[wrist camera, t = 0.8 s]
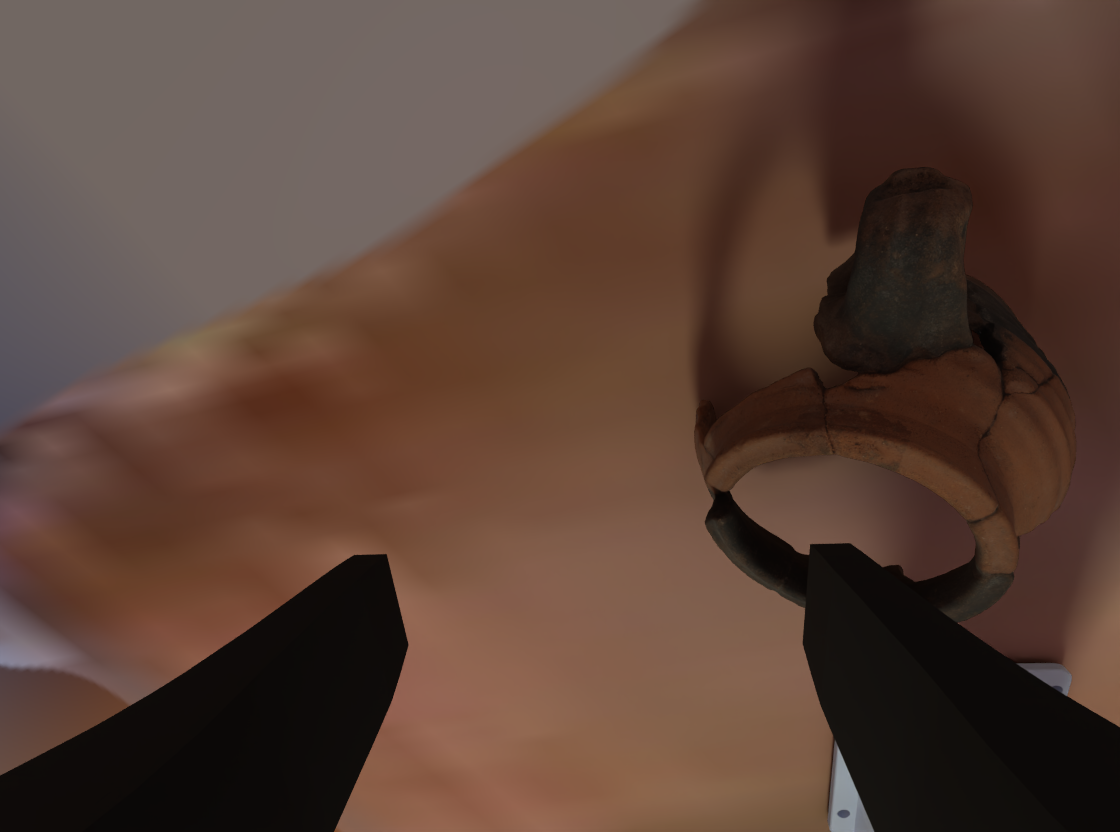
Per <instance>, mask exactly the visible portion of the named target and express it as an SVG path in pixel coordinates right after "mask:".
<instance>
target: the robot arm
mask: <svg viewBox="0 0 1120 832" xmlns="http://www.w3.org/2000/svg"><path fill="white" fill-rule="evenodd" d="M803 646H804V650H805V654H806V657H807V661H808V664H809V668H810V671H811V675H812V678H813V682H814V685H815V688H816V692H817V695H818V698H819V702H820V705H821V707H822V710H823V712H824V714H825V717H826V719H827V722H828V724H829V727H830V729H831V731H832V734H833V736H834V738H835V744H834V755H833V766H832V777H831V788H830V799H829V810H828V825H829V828H830V831H831V832H1120V727H1118V726H1117V725H1115V724H1113V723H1112V722H1110V721H1108V720H1106V719H1105V718H1103V717H1101V716H1100V715H1098V714H1096V713H1094V712H1093V711H1091V710H1089V709H1088V708H1086V707H1084V706H1082V705H1081V704H1079V703H1077V702H1076V701H1074V700H1072V699H1071V698H1069V697H1068V696H1067V694H1068V691H1069V687H1070V684H1071V680H1072V675H1071V674H1070V673H1069V671H1068V670H1067V669H1066V668H1065V667H1064V666H1063V665H1061V664H1057V663H1015V662H1013V661H1012V660H1010V659H1009V658H1007V657H1006V656H1004V655H1003V654H1001V653H1000V652H998V651H996V650H995V649H994V648H992V647H991V646H989V645H988V644H986V643H985V642H983V641H982V640H981V639H979V638H978V637H976V636H975V635H973V634H972V633H970V632H969V631H968V630H966V629H965V628H963V627H962V626H961V625H959V624H958V623H956V622H955V621H954V620H952V619H951V618H950V617H948V616H947V615H945V614H944V613H943V612H941V611H940V610H939V609H937V608H936V607H934V606H933V605H932V604H930V603H929V602H928V601H926V600H925V599H924V598H922V597H921V596H920V595H918V594H917V593H916V592H914V591H913V590H912V589H910V588H909V587H908V586H906V585H905V584H904V583H902V582H901V581H900V580H898V579H897V578H896V577H895V576H893V575H892V574H891V573H889V572H888V571H887V570H885V569H884V568H883V567H881V566H880V565H879V564H877V563H876V562H875V561H874V560H872V559H871V558H870V557H868V556H867V555H866V554H864V553H863V552H861V551H860V550H859V549H857V548H856V547H854V546H853V545H852V544H850V543H843V544H810V554H809V567H808V580H807V593H806V606H805V620H804V633H803ZM407 648H408V641H407V637H406V633H405V628H404V624H403V620H402V616H401V612H400V608H399V604H398V599H397V595H396V591H395V587H394V583H393V579H392V575H391V570H390V566H389V562H388V558H387V554H378V555H354V556H352V557H350V558H349V559H347V560H345V561H344V562H342V563H341V564H339V565H338V566H336V567H335V568H333V569H332V570H330V571H329V572H328V573H326V574H325V575H323V576H322V577H321V578H319V579H318V580H316V581H315V582H314V583H312V584H311V585H309V586H308V587H307V588H305V589H304V590H303V591H301V592H300V593H299V594H297V595H296V596H294V597H293V598H292V599H290V600H289V601H287V602H286V603H285V604H283V605H282V606H281V607H279V608H278V609H276V610H275V611H274V612H272V613H271V614H269V615H268V616H267V617H265V618H264V619H263V620H261V621H260V622H258V623H257V624H256V625H254V626H253V627H251V628H250V629H249V630H247V631H246V632H244V633H243V634H241V635H240V636H238V637H237V638H235V639H234V640H232V641H231V642H229V643H228V644H226V645H225V646H223V647H222V648H220V649H219V650H218V651H216V652H215V653H213V654H212V655H210V656H209V657H207V658H206V659H204V660H203V661H201V662H200V663H198V664H197V665H195V666H194V667H192V668H191V669H189V670H188V671H186V672H185V673H183V674H182V675H180V676H179V677H177V678H175V679H174V680H172V681H171V682H169V683H167V684H166V685H164V686H163V687H161V688H159V689H158V690H156V691H154V692H153V693H151V694H149V695H148V696H146V697H144V698H143V699H141V700H139V701H138V702H136V703H134V704H132V705H131V706H129V707H127V708H126V709H124V710H122V711H121V712H119V713H117V714H115V715H114V716H112V717H110V718H108V719H107V720H105V721H103V722H101V723H100V724H98V725H96V726H94V727H92V728H91V729H89V730H87V731H85V732H83V733H81V734H79V735H77V736H75V737H74V738H72V739H70V740H68V741H66V742H64V743H62V744H60V745H58V746H56V747H54V748H52V749H50V750H48V751H47V752H45V753H43V754H41V755H39V756H37V757H35V758H33V759H31V760H29V761H28V762H26V763H24V764H22V765H20V766H18V767H16V768H14V769H12V770H10V771H8V772H6V773H4V774H2V775H0V832H334V830H335V828H336V826H337V824H338V821H339V819H340V817H341V815H342V813H343V810H344V808H345V806H346V804H347V801H348V799H349V797H350V795H351V792H352V790H353V788H354V786H355V783H356V781H357V779H358V777H359V774H360V772H361V770H362V768H363V766H364V763H365V761H366V759H367V757H368V754H369V752H370V750H371V748H372V745H373V743H374V741H375V739H376V736H377V734H378V732H379V729H380V727H381V725H382V723H383V720H384V718H385V716H386V713H387V711H388V709H389V706H390V704H391V701H392V699H393V695H394V692H395V689H396V686H397V683H398V680H399V677H400V673H401V670H402V666H403V663H404V659H405V655H406V652H407Z"/></svg>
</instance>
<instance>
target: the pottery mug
mask: <svg viewBox="0 0 1120 832" xmlns="http://www.w3.org/2000/svg"><path fill="white" fill-rule="evenodd" d="M972 206H973V203H972V195H971V192H970V188H969V187H968V186H967V185H966V184H964V183H962V182H961V181H958V180H955V179H952V178H950V177H946V176H944V175H943V174H942V173H941V172H940V171H938V170H936V169H934V168H928V167H920V168H908V169H901V170H898V171H896V172H894V173H893V174H892V175H891V176H890V177H889V178H888V179H887V180H886V181H885V182H884V183H883V184H882V185H880V186H878V187H876V188H875V189H874V190H872V191H871V192H870V194H869V195H868V197H867V198H866V201H865V205H864V209H863V212H862V216H861V219H860V223H859V229H858V234H857V241H856V249H855V253H854V254H853V255H852V256H851V257H850V258H849V259H848V260H847V261H846V262H845V263H843V264H842V265H840V266H839V267H838V268H836V269H835V270H834V271H832V272H831V274H830V276H829V277H828V278H827V286H828V289H827V292H828V295H827V296H825V297H823V298H822V300H821V302H820V307H819V312H818V314H817V315H816V316H815V318H814V330H815V334H816V336H817V338H818V339H819V341H820V342H821V345H822V349H823V351H824V353H825V355H826V356H827V357H828V358H829V360H830V361H831V362H832V363H834V364H836V365H837V366H839V367H841V368H843V369H846V370H852V371H858V372H859V374H858V375H857V376H856V377H855V378H853V379H850V380H849V381H848V382H846V383H845V384H842V385H839V386H835V387H833V388H829V389H827V388H825V387H824V386H823V382H821V381H820V379H819V376H818V374H817V372H816V371H815V370H814V369H812V368H806V369H802V370H799V371H797V372H795V373H793V374H792V375H790V376H788V377H785V378H783V379H781V380H779V381H777V382H775V383H773V384H771V385H770V386H768V387H766V388H763V389H761V390H758V391H756V392H754V393H752V394H751V395H749V396H748V397H747V398H745V399H744V400H743V401H742V402H741V403H739V404H738V405H736V406H735V407H734V408H733V409H731V410H729V411H727V412H726V413H725V414H724V415H722V416H721V417H720V418H719V419H718V420H717V421H716V417H715V412H714V408H713V406H712V404H711V403H710V401H708V400H702V401H701V402H700V405H699V408H698V409H697V411H696V425H695V431H694V439H695V449H696V454H697V458H698V461H699V465H700V467H701V471H702V473H703V477H704V480H705V483H706V486H707V488H708V490H709V492H710V494H711V497H712V498H713V500H714V502H713V505H712V507H711V509H710V510H709V512H708V514H707V517H706V520H705V525H706V528H707V530H708V532H709V533H710V535H711V536H712V538H713V540H714V541H715V543H716V544H717V545H718V547H719V548H720V549H721V550H722V551H723V552H724V553H725V554H726V556H727V557H728V558H729V559H730V560H731V561H732V562H733V564H735V565H736V566H737V567H738V568H739V569H740V570H741V571H742V572H744V573H746V575H747V576H749V577H750V578H752V579H753V580H755V581H756V582H758V583H759V584H761V585H763V586H765V587H766V588H767V589H770V590H774V591H776V592H777V593H778V594H779V595H781V596H782V597H784V598H786V599H788V600H790V601H792V602H794V603H796V604H797V605H798V606H801V607H804V608H805V606H806V593H807V580H808V567H809V555H804V554H800V553H798V552H796V551H795V550H794V549H793V547H792V546H791V545H790V544H788V543H787V542H785V541H784V540H782V539H780V538H779V537H777V536H776V535H774V534H772V533H770V532H769V531H767V530H766V529H764V528H763V527H761V526H760V525H758V524H757V523H756V522H754V521H753V520H752V519H751V518H749V517H748V516H747V515H746V514H745V513H744V512H743V511H742V510H741V508H740V507H739V506H738V505H737V504H736V502H735V501H734V500H733V498H732V495H731V493H730V491H729V490H731V489H732V488H733V487H734V485H735V484H736V483H737V482H738V481H739V479H740V478H742V477H743V476H744V475H745V474H746V473H747V472H749V471H750V470H751V469H753V468H754V467H756V466H758V465H761V464H764V463H767V462H770V461H774V460H778V459H782V458H788V457H796V456H813V455H831V454H838V455H841V456H844V457H847V458H852V459H857V460H861V461H865V462H869V463H872V464H875V465H877V466H880V467H883V468H886V469H889V470H892V471H895V472H897V473H899V474H901V475H903V476H905V477H907V478H909V479H912V480H915V481H916V482H918V483H920V484H921V485H923V486H925V487H927V488H928V489H930V490H931V491H933V492H934V493H936V494H937V495H939V496H940V497H942V498H943V499H945V500H946V501H947V502H948V503H949V504H950V505H951V506H953V507H954V508H955V509H956V510H957V511H958V512H959V513H960V515H961V516H962V517H963V518H965V519H966V521H967V523H968V525H969V527H970V529H971V531H972V533H973V535H974V538H975V541H976V548H975V556H974V557H973V559H972V560H971V561H970V562H969V563H967V564H965V565H962V566H960V567H958V568H956V569H954V570H951V571H949V572H947V573H946V574H943V575H940V576H937V577H934V578H931V579H927V580H923V581H918V582H914V581H913V580H911V579H909V578H908V577H906V576H904V575H903V569H902V567H901V566H899V565H889V566H886V567H883V568H884V569H885V570H887V571H888V572H889V573H891V574H892V575H893V576H895V577H896V578H897V579H898V580H900V581H901V582H902V583H904V584H905V585H906V586H908V587H909V588H910V589H912V590H913V591H914V592H916V593H917V594H918V595H920V596H921V597H922V598H924V599H925V600H926V601H928V602H929V603H930V604H932V605H933V606H934V607H936V608H937V609H939V610H940V611H941V612H943V613H944V614H945V615H947V616H948V617H950V618H951V619H952V620H954V621H955V622H956V623H957V622H961V621H965V620H967V619H969V618H971V617H974V616H975V615H977V614H979V613H981V612H983V611H984V610H986V609H988V608H989V607H991V606H992V605H993V604H994V603H996V602H997V601H998V600H999V599H1000V598H1001V597H1002V596H1003V595H1004V594H1005V592H1006V591H1007V589H1008V588H1009V587H1010V586H1011V584H1012V582H1013V580H1014V574H1013V571H1014V570H1015V568H1016V567H1017V562H1018V556H1019V548H1020V538H1019V536H1020V535H1022V534H1026V533H1028V532H1031V531H1032V530H1034V528H1035V527H1036V526H1037V525H1039V524H1042V523H1044V522H1045V521H1047V520H1048V519H1049V518H1050V516H1051V514H1052V513H1053V512H1054V511H1056V510H1057V509H1058V508H1059V507H1060V505H1061V503H1062V501H1063V499H1064V497H1065V495H1066V493H1067V490H1068V488H1069V485H1070V479H1071V474H1072V470H1073V468H1074V464H1075V460H1076V437H1075V433H1074V430H1075V415H1074V411H1073V408H1072V404H1071V401H1070V397H1069V395H1068V392H1067V389H1066V387H1065V385H1064V384H1063V382H1062V380H1061V378H1060V377H1059V375H1058V373H1057V371H1056V369H1055V368H1054V366H1053V365H1052V364H1051V363H1050V362H1049V361H1048V360H1047V358H1046V356H1045V354H1044V353H1043V351H1042V350H1041V349H1039V348H1038V347H1037V345H1036V343H1035V341H1034V339H1033V338H1032V336H1031V335H1030V334H1029V333H1028V332H1027V331H1026V330H1025V328H1024V327H1023V326H1022V325H1021V323H1020V322H1019V321H1018V320H1017V318H1016V317H1015V315H1014V313H1013V312H1012V310H1011V309H1010V308H1009V307H1008V305H1007V304H1006V303H1005V302H1004V301H1003V300H1002V299H1001V298H1000V297H999V296H998V295H997V294H996V293H995V292H994V291H993V290H991V289H990V288H989V287H988V286H986V285H985V284H983V283H982V282H980V281H979V280H977V279H975V278H973V277H971V276H968V275H965V271H964V261H963V258H964V249H965V242H966V232H967V225H968V220H969V216H970V213H971V210H972ZM971 330H973V331H974V332H975V333H977V334H978V335H979V338H980V341H981V344H982V345H983V347H984V349H982V348H980V347H978V346H976V345H974V344H973V338H972V332H971Z"/></svg>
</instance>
